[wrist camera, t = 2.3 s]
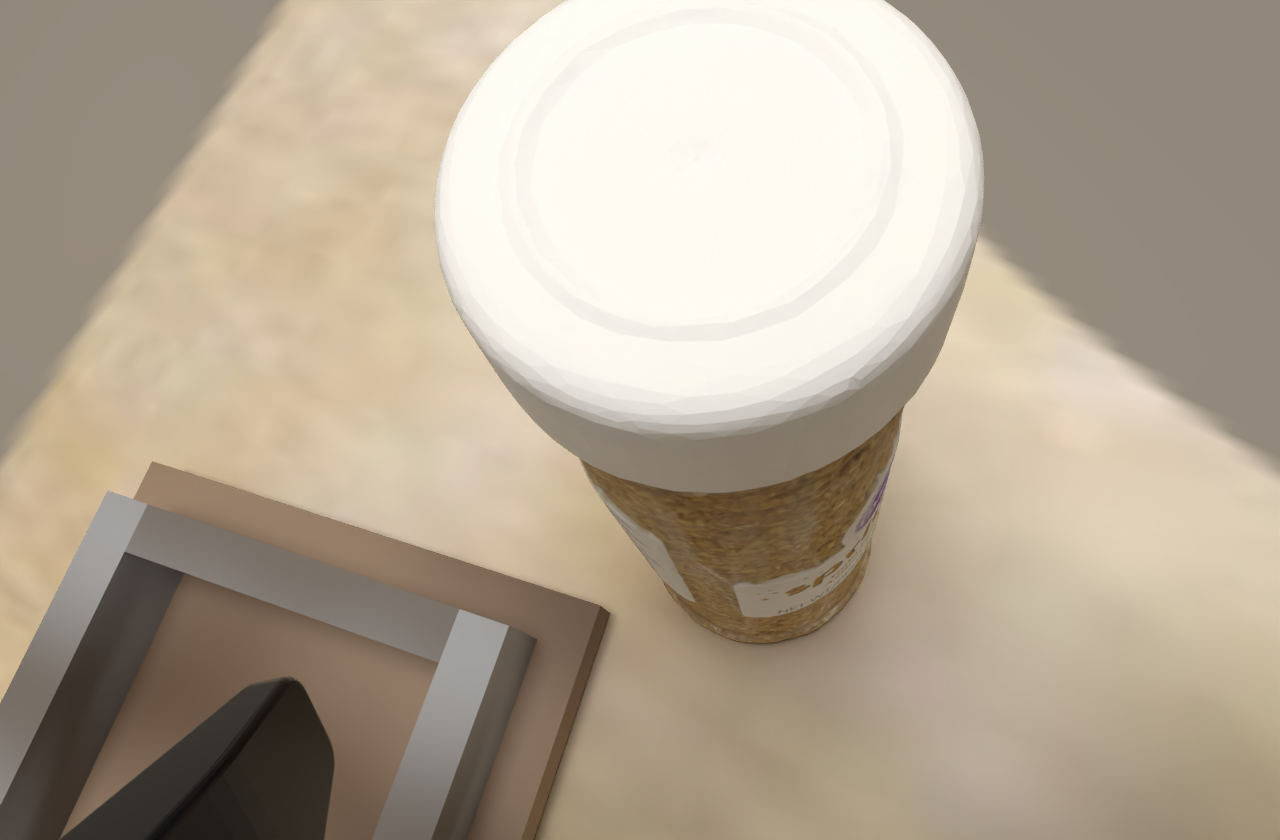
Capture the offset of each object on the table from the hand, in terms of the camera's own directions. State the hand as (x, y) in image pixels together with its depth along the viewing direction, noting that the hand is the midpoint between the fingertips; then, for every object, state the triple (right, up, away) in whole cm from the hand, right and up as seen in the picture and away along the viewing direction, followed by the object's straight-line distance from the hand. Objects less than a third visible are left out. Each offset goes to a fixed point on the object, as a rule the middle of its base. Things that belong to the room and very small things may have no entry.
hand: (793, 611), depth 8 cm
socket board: (-9, -6, +11) cm, 16 cm away
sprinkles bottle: (+1, -1, +12) cm, 12 cm away
